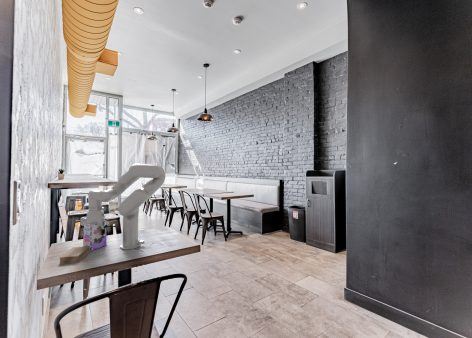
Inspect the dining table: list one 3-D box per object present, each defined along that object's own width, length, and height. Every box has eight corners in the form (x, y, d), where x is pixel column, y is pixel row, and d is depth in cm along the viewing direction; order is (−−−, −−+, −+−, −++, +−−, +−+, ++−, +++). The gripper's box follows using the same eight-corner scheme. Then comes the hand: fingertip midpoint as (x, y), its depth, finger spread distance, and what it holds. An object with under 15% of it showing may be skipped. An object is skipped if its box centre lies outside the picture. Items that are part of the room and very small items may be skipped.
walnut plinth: (89, 252, 149) (89, 246, 149) (78, 263, 132) (78, 255, 132) (73, 253, 147) (73, 247, 147) (59, 264, 130) (59, 257, 130)
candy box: (90, 251, 149) (90, 225, 149) (82, 251, 150) (82, 225, 150) (106, 244, 162) (106, 220, 162) (99, 244, 163) (99, 220, 163)
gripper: (111, 207, 161) (111, 233, 161) (84, 208, 158) (83, 233, 158) (107, 209, 153) (106, 236, 153) (78, 210, 151) (77, 237, 151)
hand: (95, 235), depth 156 cm, fingers open, 9 cm apart
